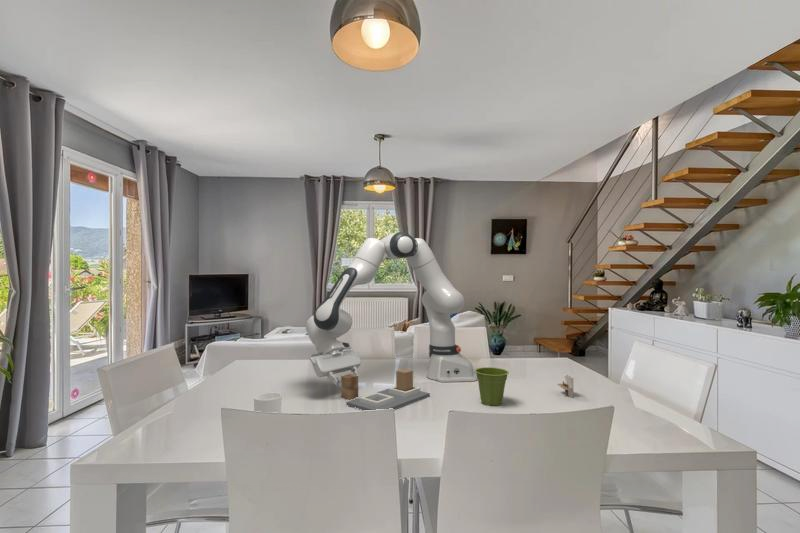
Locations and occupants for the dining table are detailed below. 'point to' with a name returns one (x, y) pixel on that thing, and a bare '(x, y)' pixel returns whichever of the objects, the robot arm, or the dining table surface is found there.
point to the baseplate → (392, 394)
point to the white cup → (268, 402)
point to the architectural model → (568, 386)
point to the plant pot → (491, 384)
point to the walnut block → (349, 386)
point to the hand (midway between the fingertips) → (347, 380)
